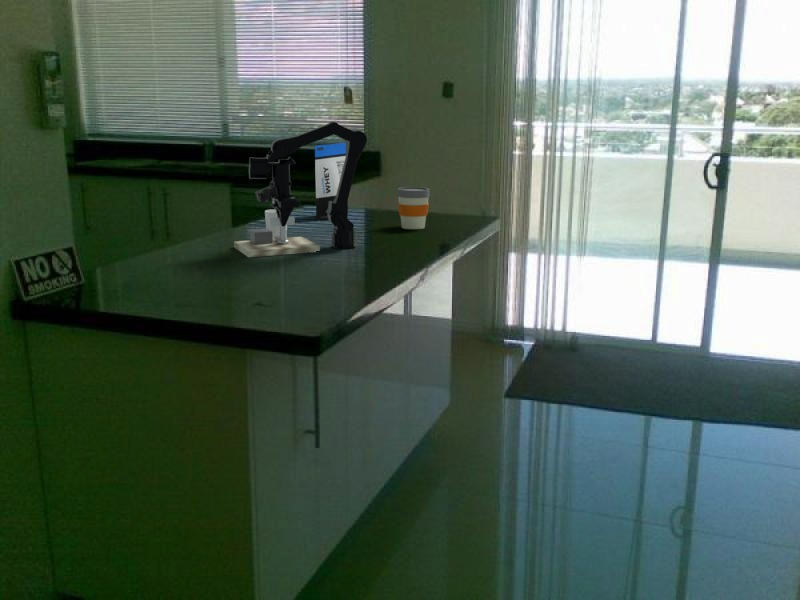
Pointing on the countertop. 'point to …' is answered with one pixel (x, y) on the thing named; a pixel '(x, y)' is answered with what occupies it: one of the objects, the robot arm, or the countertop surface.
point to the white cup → (274, 229)
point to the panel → (276, 247)
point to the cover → (261, 236)
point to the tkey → (282, 229)
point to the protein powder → (327, 175)
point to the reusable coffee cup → (413, 206)
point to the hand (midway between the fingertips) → (282, 225)
